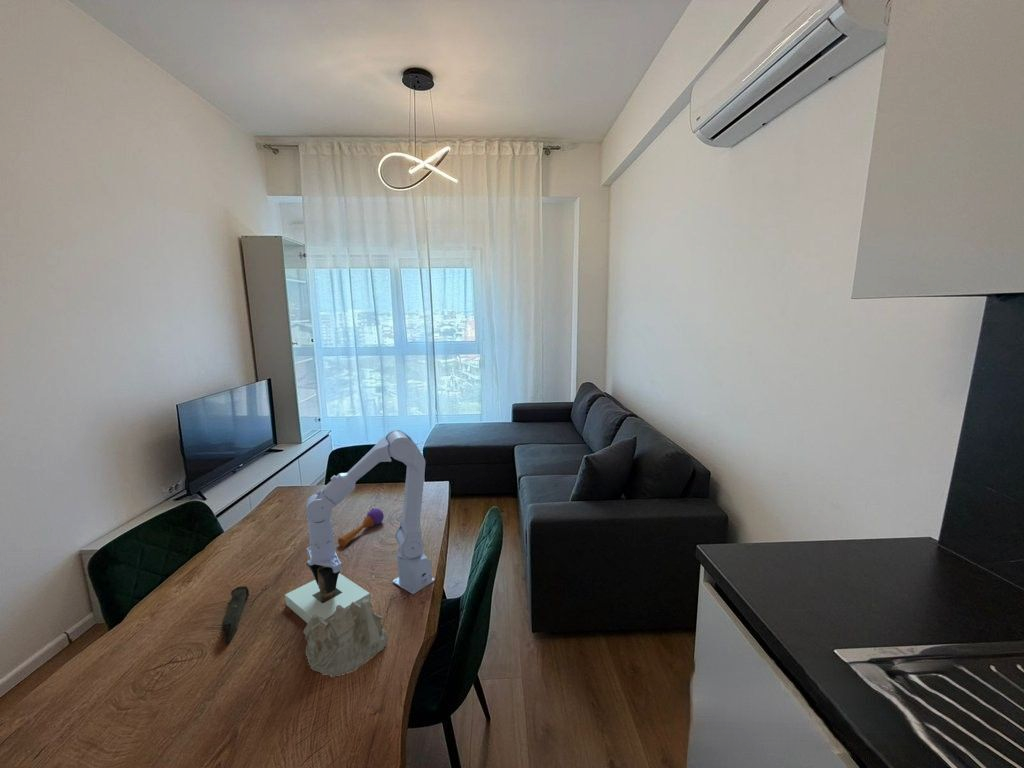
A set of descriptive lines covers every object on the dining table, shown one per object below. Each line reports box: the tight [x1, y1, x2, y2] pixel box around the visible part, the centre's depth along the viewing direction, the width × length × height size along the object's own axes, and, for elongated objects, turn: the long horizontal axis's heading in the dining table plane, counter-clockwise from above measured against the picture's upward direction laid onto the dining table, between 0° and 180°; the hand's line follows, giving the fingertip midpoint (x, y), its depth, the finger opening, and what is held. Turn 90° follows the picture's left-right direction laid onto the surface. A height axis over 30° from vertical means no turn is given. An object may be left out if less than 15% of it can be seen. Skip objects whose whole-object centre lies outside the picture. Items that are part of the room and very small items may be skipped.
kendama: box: [337, 508, 385, 548], centre depth 152 cm, size 6×6×20 cm
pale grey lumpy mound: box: [302, 599, 389, 676], centre depth 97 cm, size 16×16×15 cm
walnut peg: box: [317, 566, 335, 604], centre depth 113 cm, size 4×4×9 cm
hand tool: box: [221, 585, 250, 645], centre depth 108 cm, size 19×4×5 cm, turn 21°
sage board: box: [284, 573, 372, 624], centre depth 114 cm, size 18×14×3 cm
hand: (326, 587), depth 113 cm, fingers closed on walnut peg, 4 cm apart
